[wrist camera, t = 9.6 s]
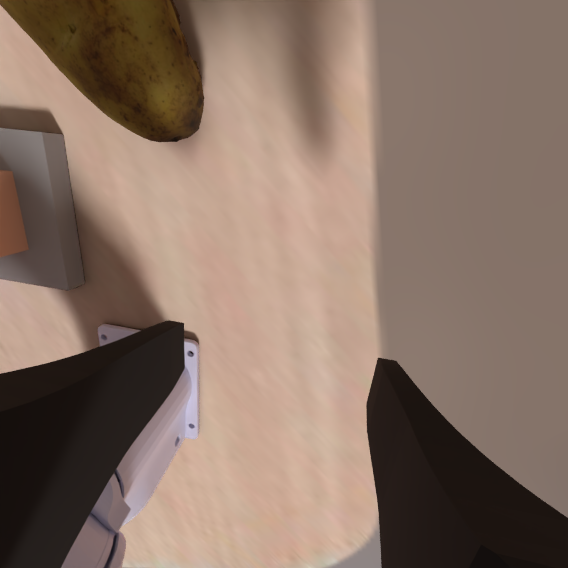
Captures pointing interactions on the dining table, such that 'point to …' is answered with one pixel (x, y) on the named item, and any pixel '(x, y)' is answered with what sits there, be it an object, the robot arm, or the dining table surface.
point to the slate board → (42, 211)
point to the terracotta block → (10, 217)
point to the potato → (121, 59)
